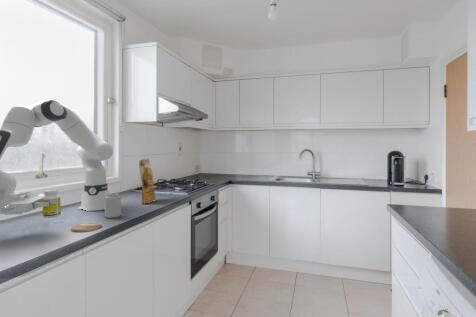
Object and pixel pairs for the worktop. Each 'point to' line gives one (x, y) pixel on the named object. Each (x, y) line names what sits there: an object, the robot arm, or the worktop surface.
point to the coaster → (86, 227)
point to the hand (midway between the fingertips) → (53, 201)
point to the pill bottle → (51, 204)
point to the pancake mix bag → (147, 181)
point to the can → (112, 205)
